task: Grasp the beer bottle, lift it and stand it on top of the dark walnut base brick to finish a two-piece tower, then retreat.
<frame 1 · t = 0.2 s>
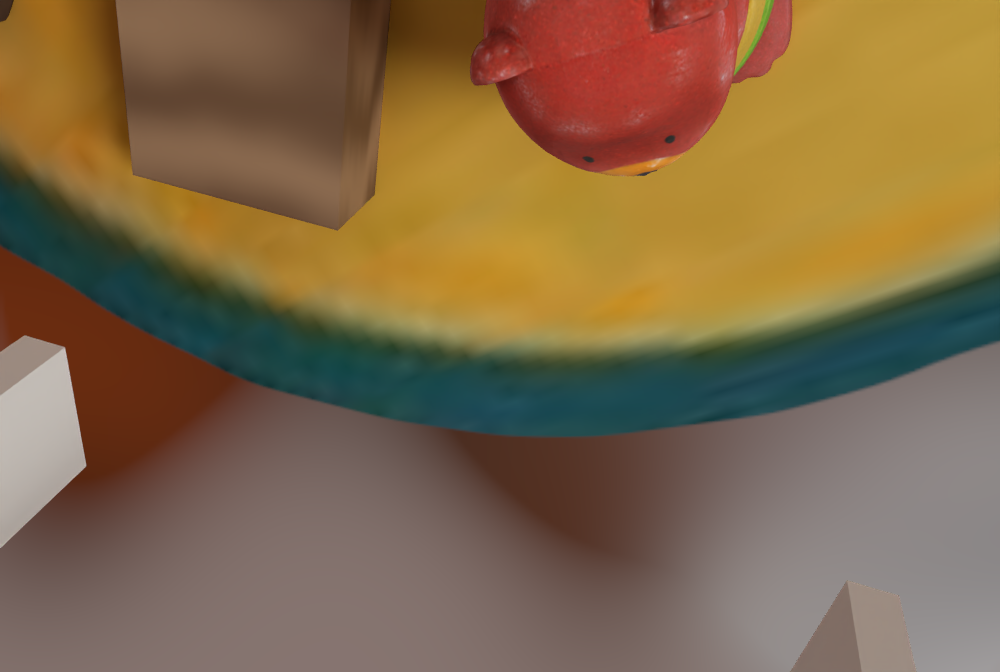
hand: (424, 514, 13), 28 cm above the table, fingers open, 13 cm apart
walnut base brick: (282, 67, 40), on the table
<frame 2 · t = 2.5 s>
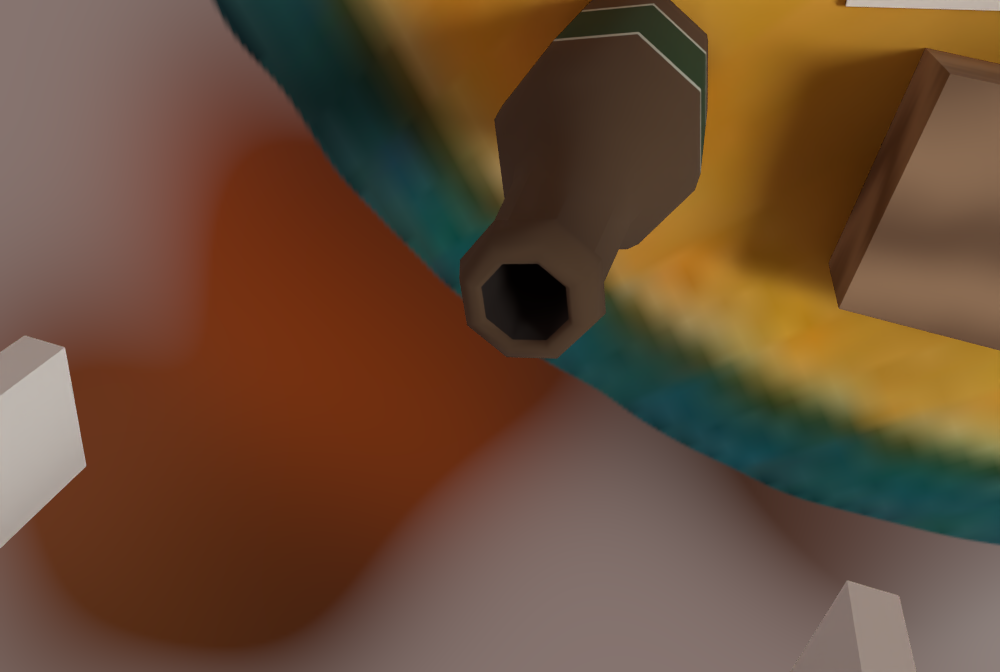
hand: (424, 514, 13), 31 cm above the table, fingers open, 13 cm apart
beer bottle: (633, 69, 38), on the table
walnut base brick: (989, 191, 37), on the table
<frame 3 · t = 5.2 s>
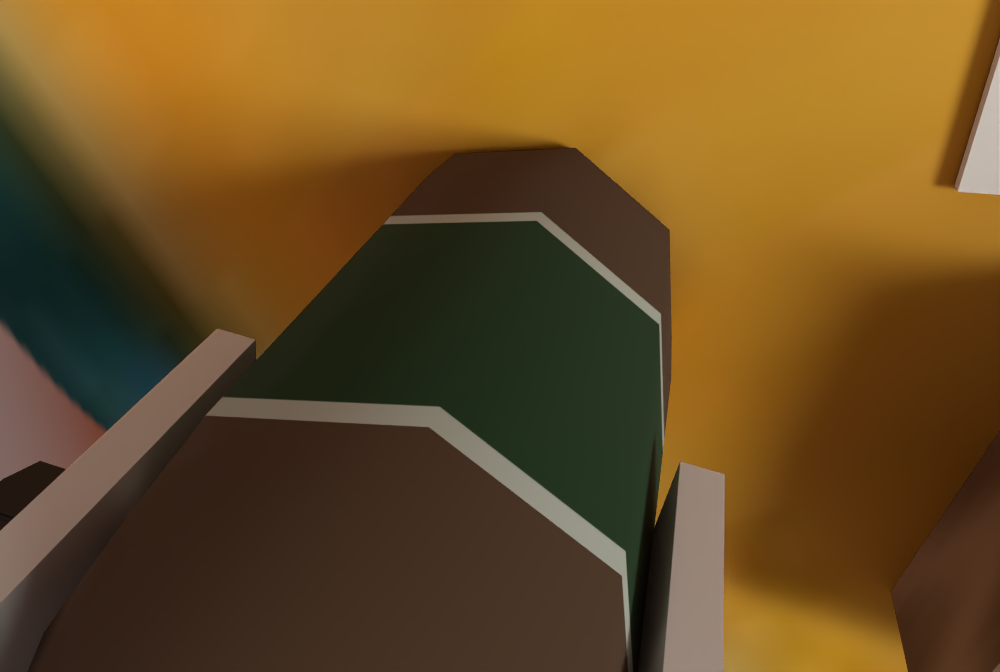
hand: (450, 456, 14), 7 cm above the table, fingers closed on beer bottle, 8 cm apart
beer bottle: (534, 275, 20), on the table, touching gripper
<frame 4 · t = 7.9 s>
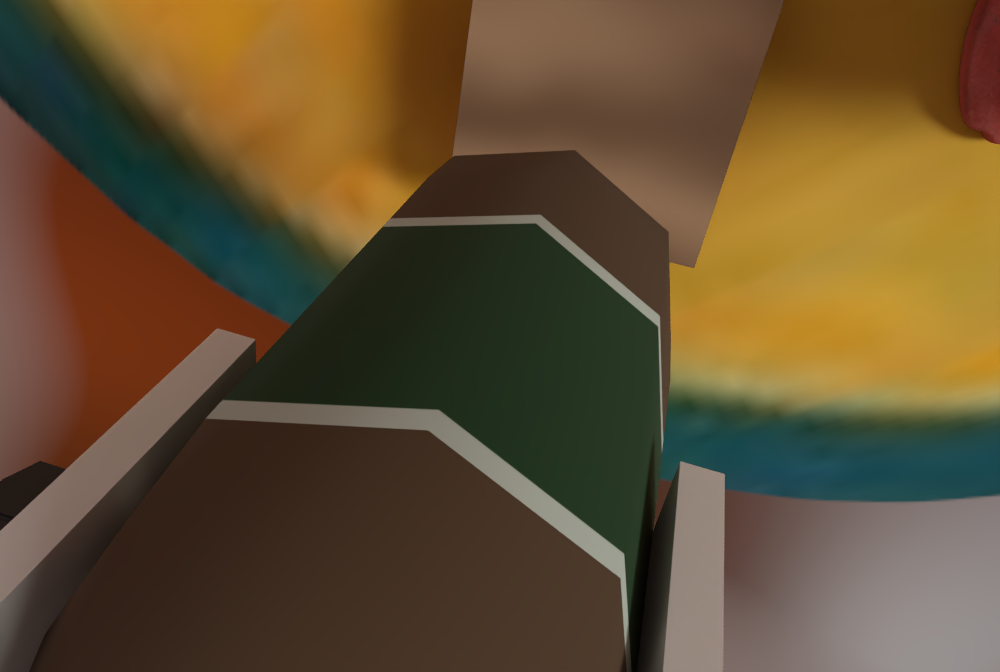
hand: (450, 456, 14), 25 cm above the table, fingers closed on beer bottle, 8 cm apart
beer bottle: (533, 276, 20), point 18 cm above the table, touching gripper
walnut base brick: (612, 80, 35), on the table
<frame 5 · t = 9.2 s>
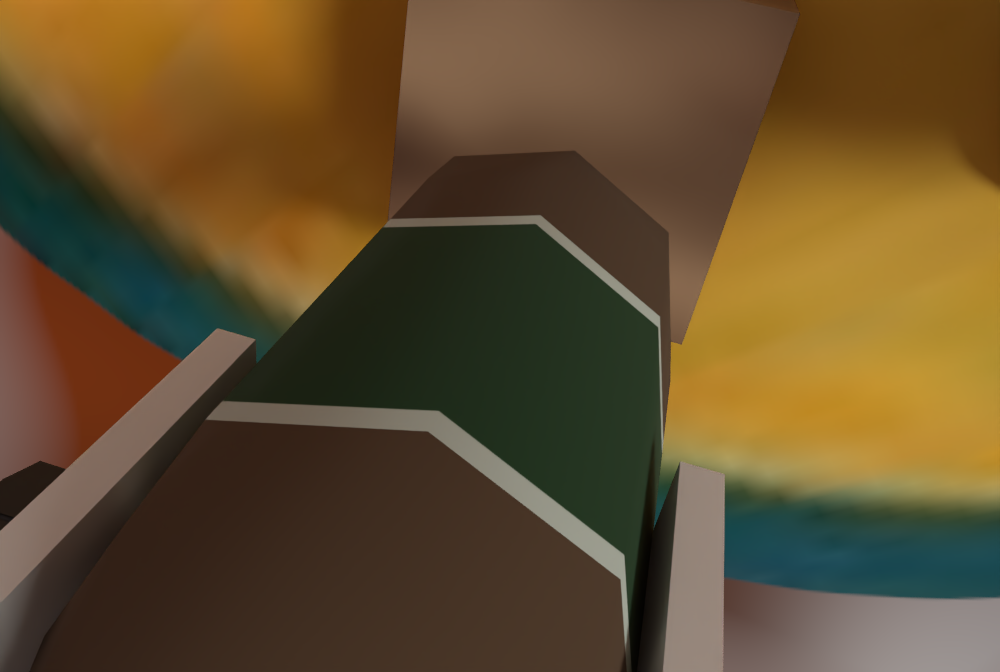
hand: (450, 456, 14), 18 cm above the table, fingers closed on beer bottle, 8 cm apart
beer bottle: (534, 277, 20), point 11 cm above the table, touching gripper
walnut base brick: (585, 112, 29), on the table
when the fingers open (13 cm above the table, at t = 10.6 s): beer bottle drops 1 cm, resting on walnut base brick.
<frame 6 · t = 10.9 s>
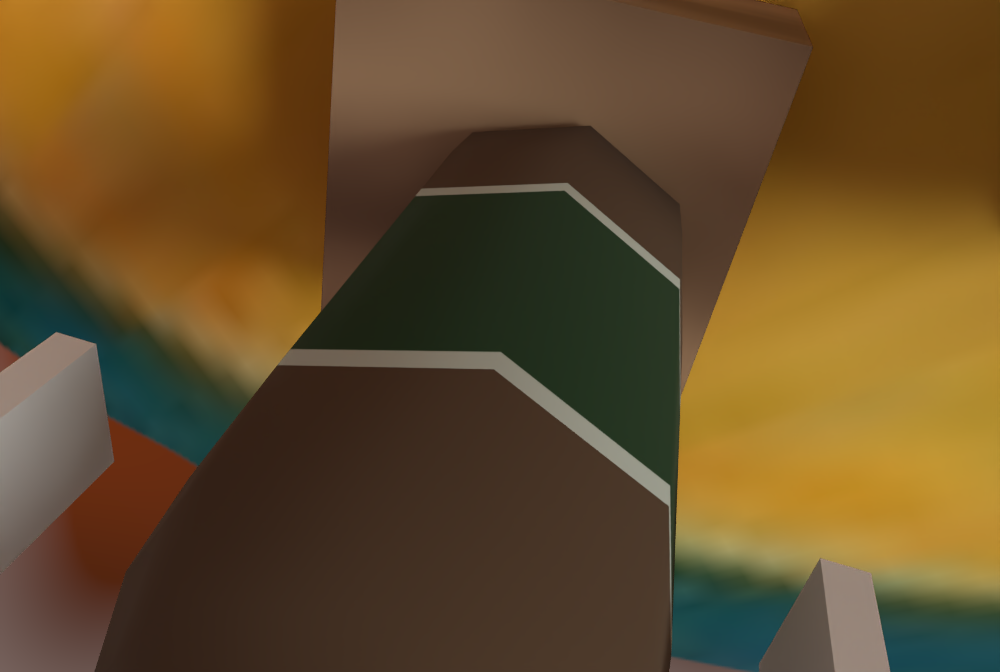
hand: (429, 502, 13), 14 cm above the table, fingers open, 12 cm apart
beer bottle: (547, 250, 21), point 5 cm above the table, touching walnut base brick
walnut base brick: (557, 151, 25), on the table, touching beer bottle
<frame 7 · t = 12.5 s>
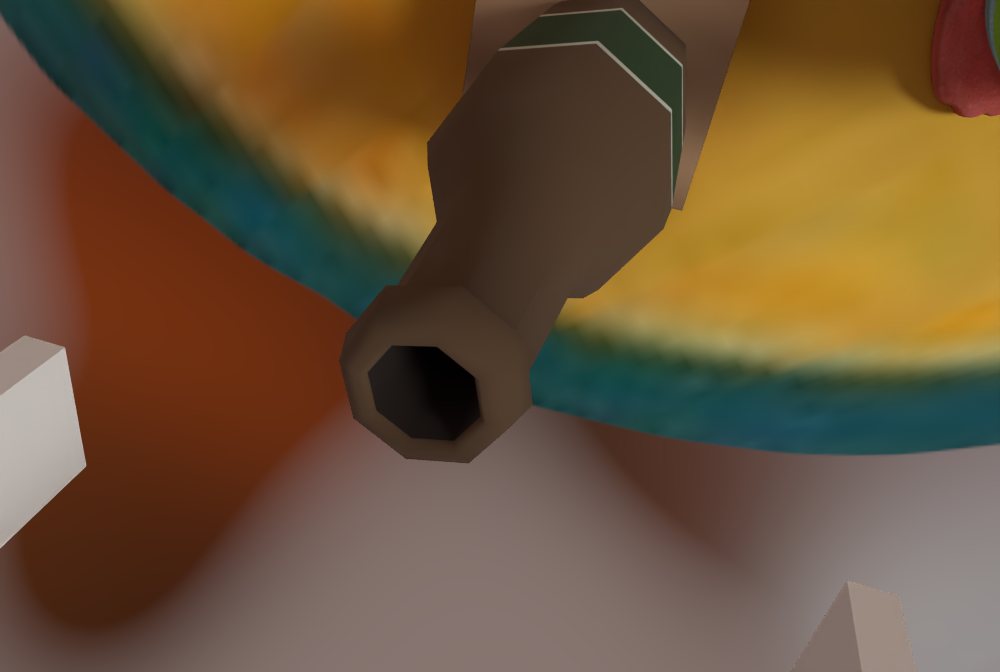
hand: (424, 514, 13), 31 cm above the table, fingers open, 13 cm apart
beer bottle: (603, 82, 34), point 5 cm above the table, touching walnut base brick
walnut base brick: (608, 39, 38), on the table, touching beer bottle
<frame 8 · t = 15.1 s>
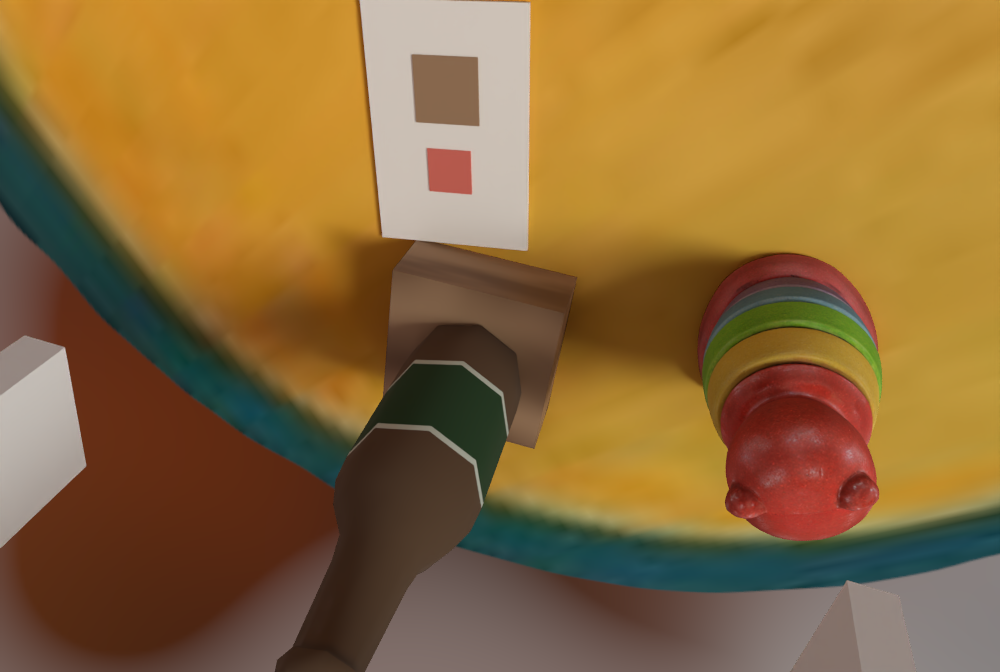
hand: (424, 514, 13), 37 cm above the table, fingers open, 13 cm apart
beer bottle: (469, 367, 52), point 5 cm above the table, touching walnut base brick
instruction page: (449, 130, 48), on the table
stacking bear: (782, 320, 50), on the table
walnut base brick: (486, 325, 55), on the table, touching beer bottle
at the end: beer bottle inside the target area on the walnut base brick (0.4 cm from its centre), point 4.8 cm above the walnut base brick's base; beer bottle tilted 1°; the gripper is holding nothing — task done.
